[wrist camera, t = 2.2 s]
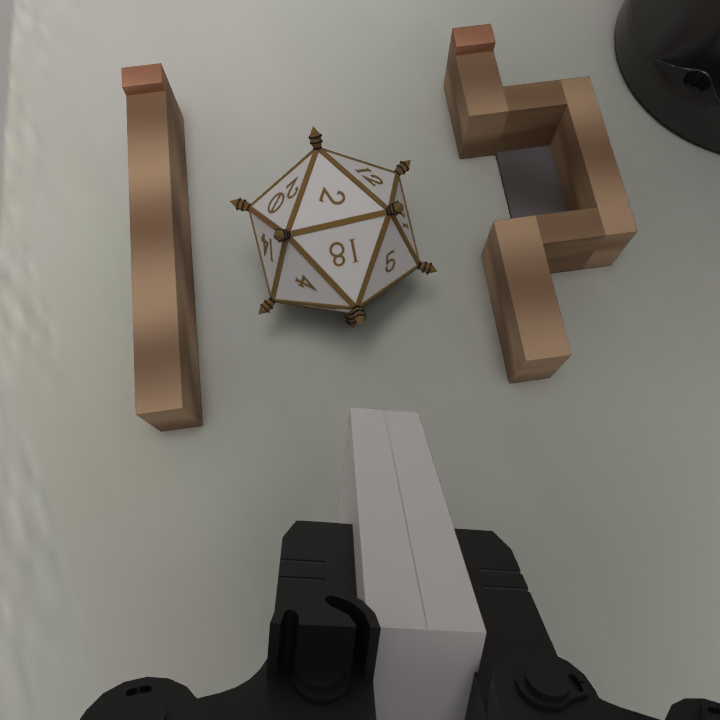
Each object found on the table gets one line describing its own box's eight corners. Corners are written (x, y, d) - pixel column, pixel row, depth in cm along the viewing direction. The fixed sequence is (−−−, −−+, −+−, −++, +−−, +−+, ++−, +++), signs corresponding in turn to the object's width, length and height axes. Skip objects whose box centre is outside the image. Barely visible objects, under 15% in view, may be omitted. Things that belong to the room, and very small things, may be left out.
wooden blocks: (639, 365, 32) (677, 336, 28) (160, 431, 31) (131, 411, 27) (554, 71, 37) (576, 13, 33) (147, 121, 36) (121, 68, 33)
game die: (328, 333, 36) (214, 361, 27) (291, 185, 36) (163, 165, 27) (479, 296, 32) (402, 315, 23) (439, 128, 32) (345, 82, 23)
